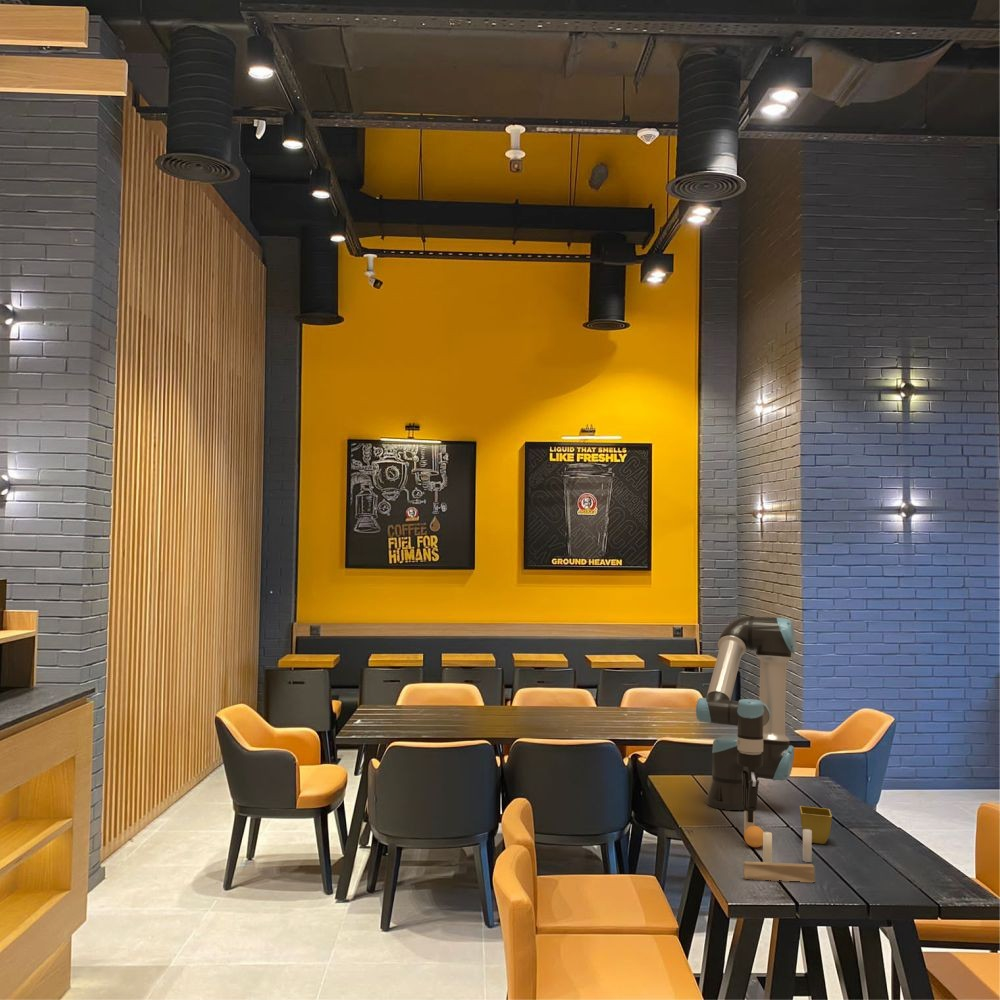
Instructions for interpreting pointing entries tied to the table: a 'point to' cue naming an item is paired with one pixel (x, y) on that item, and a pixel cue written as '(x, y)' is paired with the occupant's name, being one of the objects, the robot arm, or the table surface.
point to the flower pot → (816, 822)
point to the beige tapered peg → (807, 845)
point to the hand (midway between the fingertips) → (749, 832)
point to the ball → (754, 836)
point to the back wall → (779, 871)
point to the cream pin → (767, 847)
